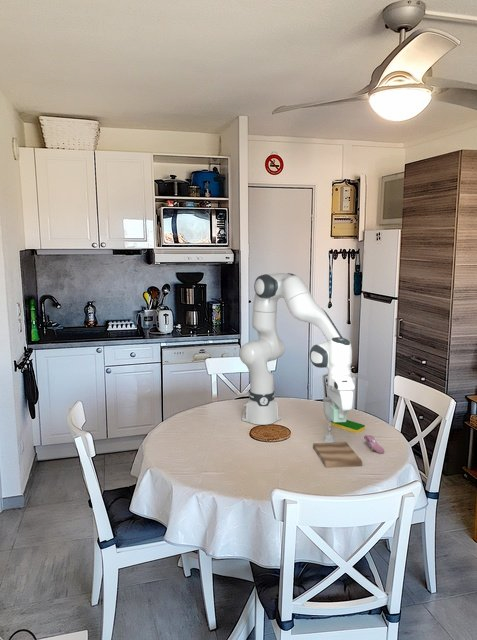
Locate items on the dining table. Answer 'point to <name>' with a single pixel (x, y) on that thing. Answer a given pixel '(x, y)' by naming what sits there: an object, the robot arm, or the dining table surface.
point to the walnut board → (337, 454)
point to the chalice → (326, 409)
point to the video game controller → (373, 444)
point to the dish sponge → (349, 426)
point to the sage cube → (336, 414)
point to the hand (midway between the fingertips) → (338, 414)
